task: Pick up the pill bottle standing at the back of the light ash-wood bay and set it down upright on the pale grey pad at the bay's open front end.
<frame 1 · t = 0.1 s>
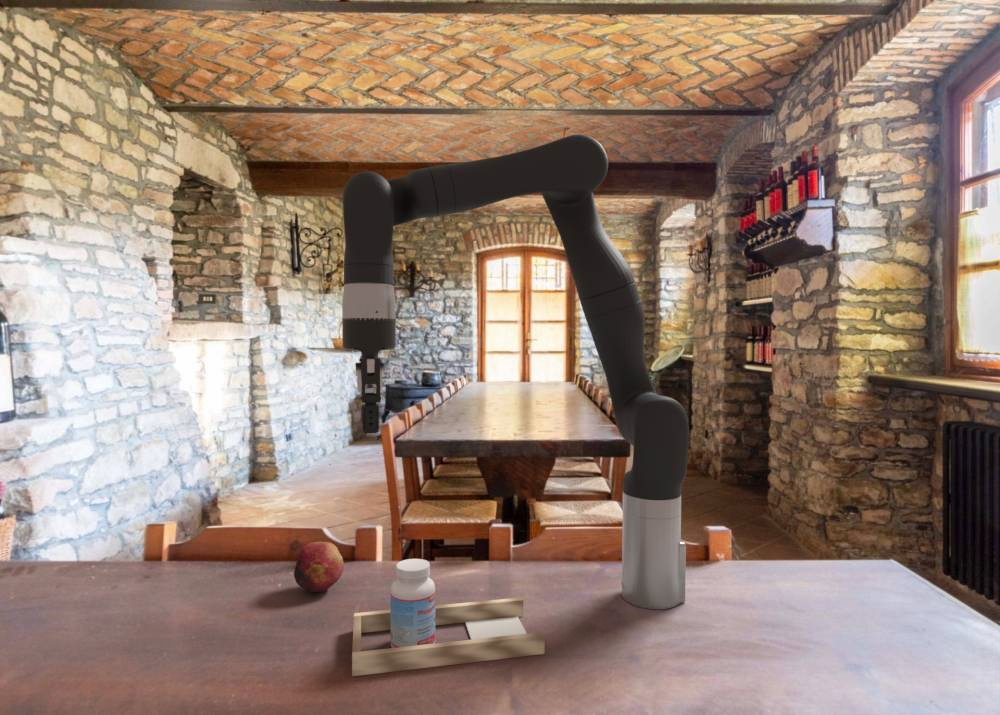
hand: (369, 428, 86), 29 cm above the table, fingers open, 8 cm apart
front pad: (498, 635, 84), on the table
bay: (445, 641, 83), on the table
pill bottle: (413, 646, 82), resting in bay
fruit: (319, 592, 99), on the table
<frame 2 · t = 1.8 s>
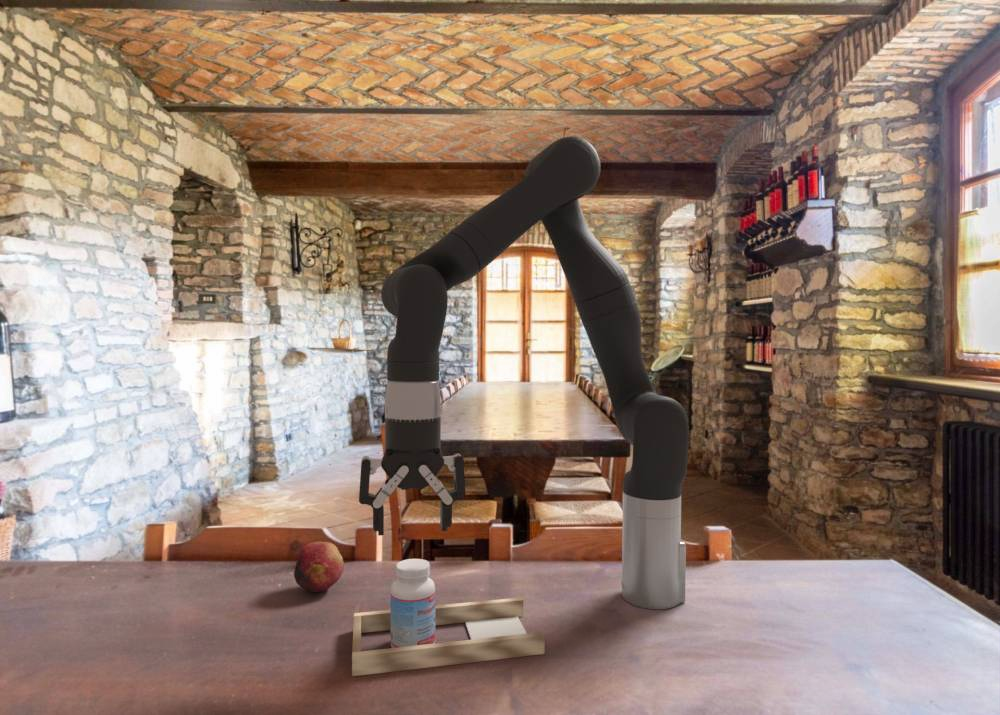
hand: (412, 531, 81), 16 cm above the table, fingers open, 8 cm apart
nothing on the table moved.
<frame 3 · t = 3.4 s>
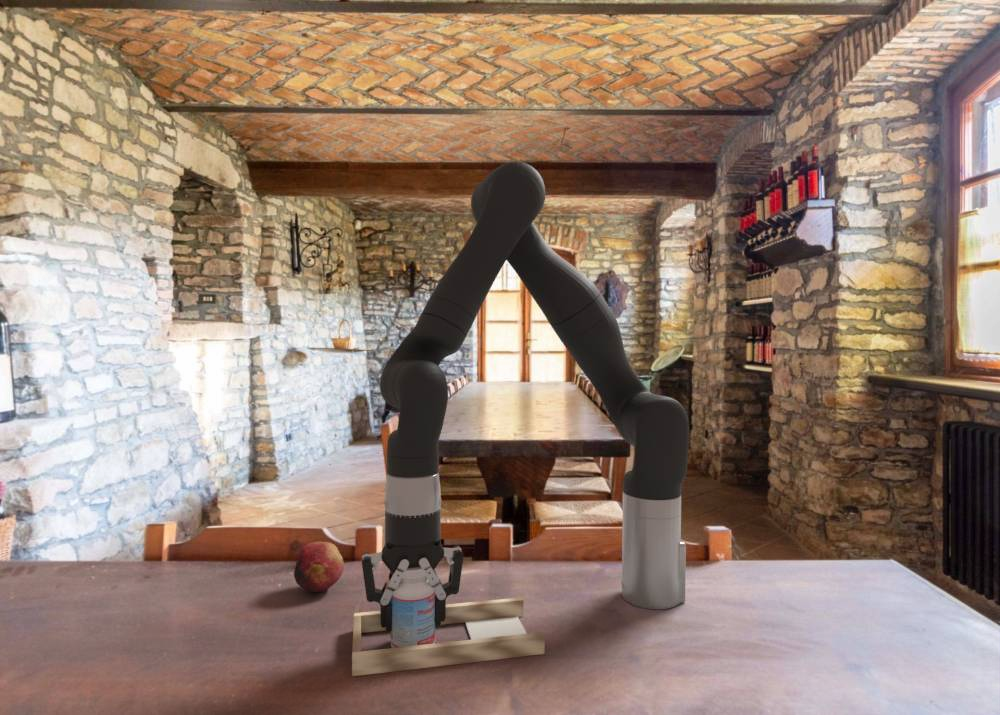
hand: (412, 625, 81), 3 cm above the table, fingers closed on pill bottle, 6 cm apart
pill bottle: (413, 646, 82), resting in bay, touching gripper
everything else where it was.
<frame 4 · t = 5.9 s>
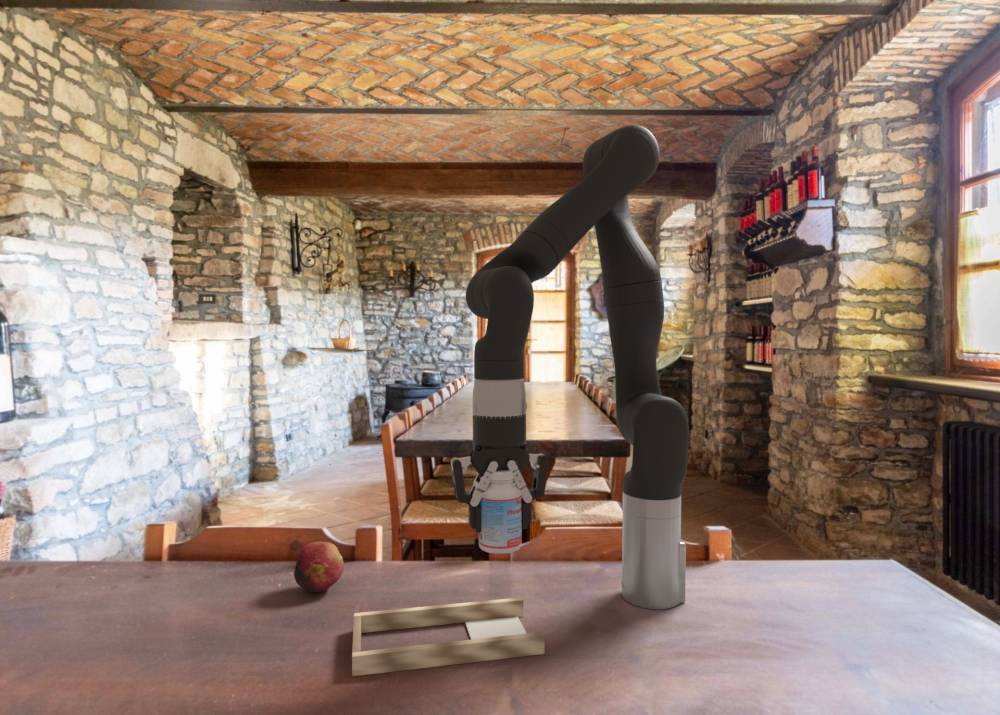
hand: (499, 528, 84), 15 cm above the table, fingers closed on pill bottle, 6 cm apart
pill bottle: (500, 548, 84), point 12 cm above the table, touching gripper
everything else where it was.
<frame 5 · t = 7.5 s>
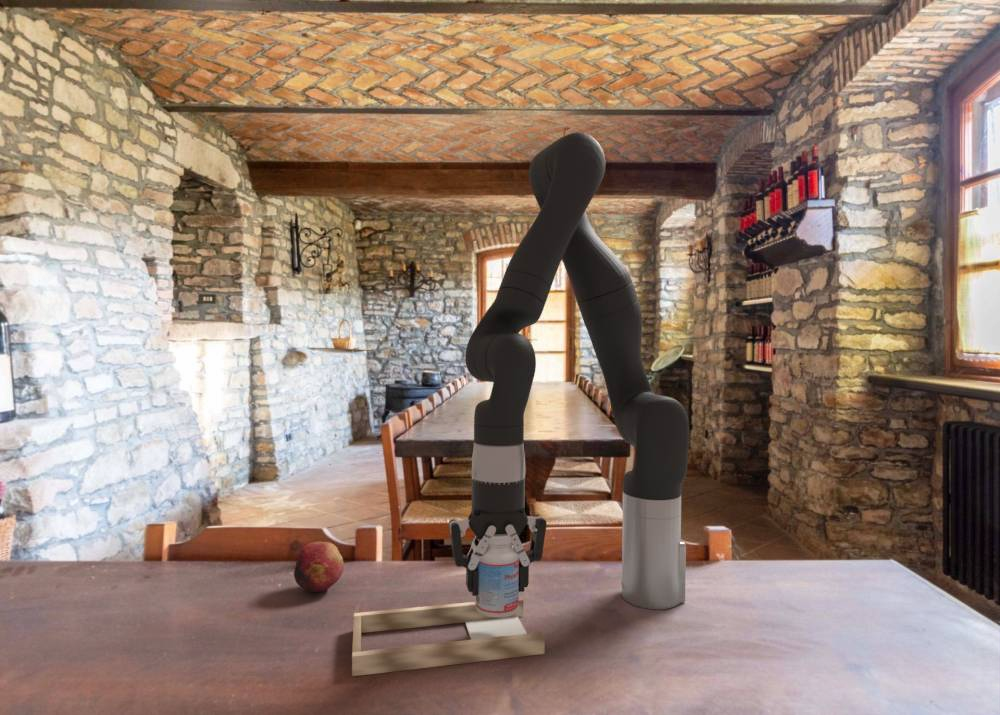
hand: (497, 591, 84), 6 cm above the table, fingers closed on pill bottle, 6 cm apart
pill bottle: (497, 611, 84), point 3 cm above the table, touching gripper
everything else where it was.
when the fingers open (4 cm above the table, at t = 8.6 s): pill bottle stays where it is, resting on front pad.
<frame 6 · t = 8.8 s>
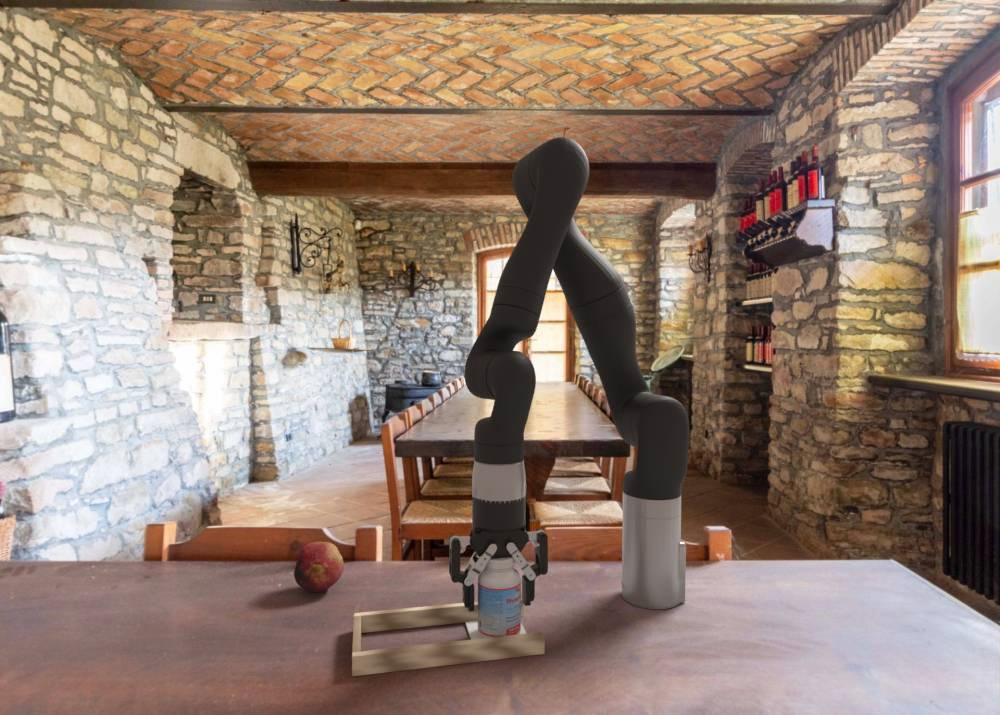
hand: (498, 606, 84), 4 cm above the table, fingers open, 7 cm apart
pill bottle: (499, 634, 84), resting on front pad
everything else where it was.
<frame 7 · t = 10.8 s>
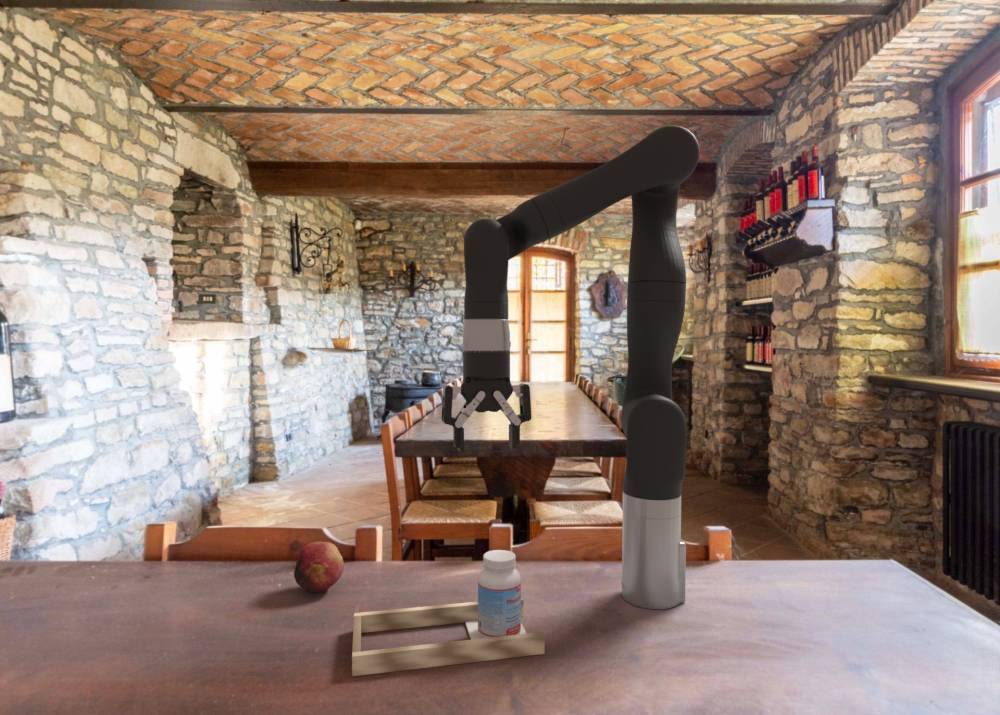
hand: (486, 449, 95), 24 cm above the table, fingers open, 8 cm apart
nothing on the table moved.
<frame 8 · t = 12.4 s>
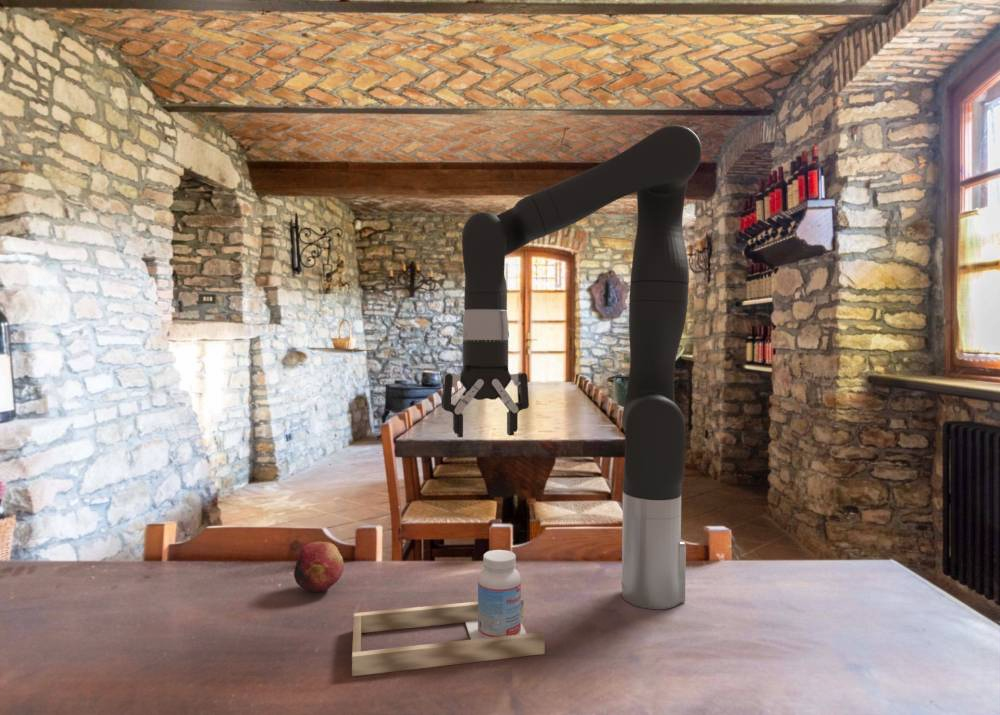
hand: (485, 435, 98), 26 cm above the table, fingers open, 8 cm apart
nothing on the table moved.
at the end: pill bottle inside the target area (0.2 cm from its centre), resting on front pad; pill bottle tilted 0°; the gripper is holding nothing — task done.
